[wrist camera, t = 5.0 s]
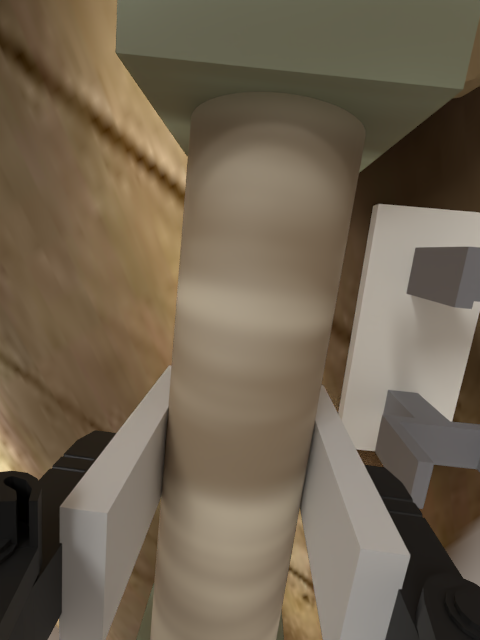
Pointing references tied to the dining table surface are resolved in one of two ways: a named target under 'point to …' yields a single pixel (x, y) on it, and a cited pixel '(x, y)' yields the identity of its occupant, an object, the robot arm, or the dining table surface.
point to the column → (265, 260)
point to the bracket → (414, 342)
